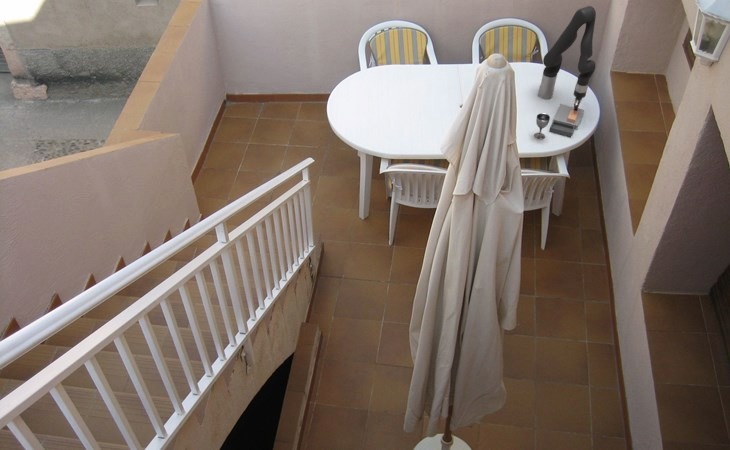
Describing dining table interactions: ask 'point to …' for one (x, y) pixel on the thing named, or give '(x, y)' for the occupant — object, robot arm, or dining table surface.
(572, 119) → the tile front
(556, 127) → the tray
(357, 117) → the dining table surface
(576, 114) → the tile rear
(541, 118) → the wine glass
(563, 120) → the slate ledge
